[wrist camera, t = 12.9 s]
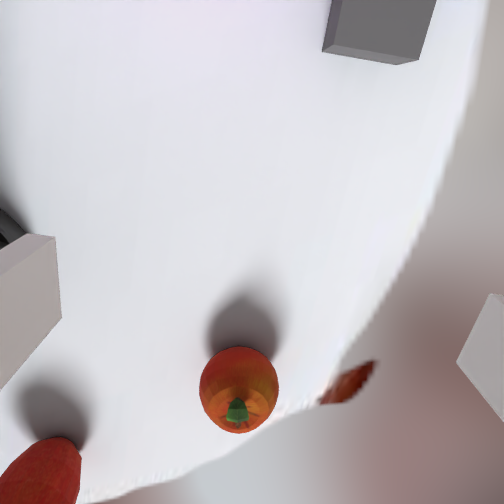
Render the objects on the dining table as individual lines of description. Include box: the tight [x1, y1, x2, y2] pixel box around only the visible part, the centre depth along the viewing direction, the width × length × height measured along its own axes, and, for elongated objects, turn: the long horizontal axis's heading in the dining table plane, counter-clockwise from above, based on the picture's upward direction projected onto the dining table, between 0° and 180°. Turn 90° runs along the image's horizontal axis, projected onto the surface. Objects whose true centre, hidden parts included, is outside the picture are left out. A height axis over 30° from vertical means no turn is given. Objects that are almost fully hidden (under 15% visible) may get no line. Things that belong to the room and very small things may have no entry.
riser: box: [322, 0, 436, 65], centre depth 28 cm, size 7×7×4 cm
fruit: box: [199, 346, 279, 434], centre depth 41 cm, size 10×10×10 cm
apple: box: [0, 437, 82, 504], centre depth 45 cm, size 10×10×14 cm
